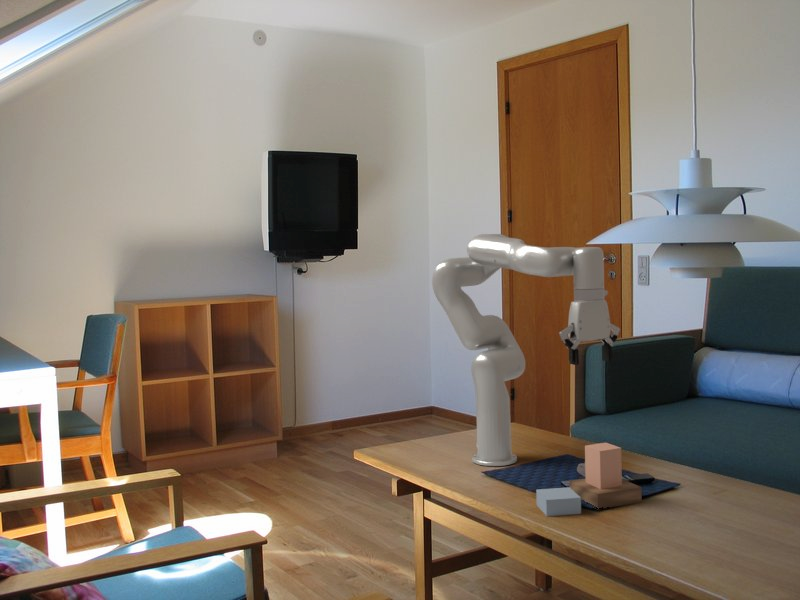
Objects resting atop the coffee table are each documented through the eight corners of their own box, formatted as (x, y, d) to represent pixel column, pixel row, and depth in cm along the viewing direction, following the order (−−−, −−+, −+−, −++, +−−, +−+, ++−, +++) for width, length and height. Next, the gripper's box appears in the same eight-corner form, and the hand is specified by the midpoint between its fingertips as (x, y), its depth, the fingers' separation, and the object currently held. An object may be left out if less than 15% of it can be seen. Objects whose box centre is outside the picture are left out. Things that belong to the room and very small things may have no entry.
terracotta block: (585, 482, 194) (584, 445, 193) (606, 479, 196) (605, 442, 195) (600, 489, 188) (599, 451, 187) (622, 485, 190) (621, 447, 190)
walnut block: (569, 496, 196) (569, 480, 196) (611, 490, 200) (611, 474, 200) (597, 511, 185) (597, 494, 184) (641, 503, 189) (641, 487, 188)
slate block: (536, 506, 189) (536, 489, 189) (569, 503, 190) (569, 487, 190) (546, 517, 181) (546, 499, 181) (581, 514, 182) (580, 497, 182)
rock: (593, 482, 206) (592, 467, 205) (571, 471, 216) (571, 457, 216) (623, 478, 208) (623, 463, 208) (600, 468, 219) (600, 453, 218)
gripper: (609, 293, 211) (610, 358, 212) (551, 297, 205) (553, 363, 206) (626, 294, 204) (628, 361, 205) (567, 298, 198) (569, 367, 199)
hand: (590, 362), depth 205 cm, fingers open, 9 cm apart
